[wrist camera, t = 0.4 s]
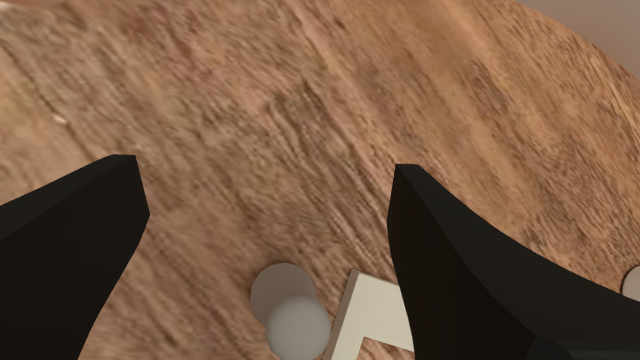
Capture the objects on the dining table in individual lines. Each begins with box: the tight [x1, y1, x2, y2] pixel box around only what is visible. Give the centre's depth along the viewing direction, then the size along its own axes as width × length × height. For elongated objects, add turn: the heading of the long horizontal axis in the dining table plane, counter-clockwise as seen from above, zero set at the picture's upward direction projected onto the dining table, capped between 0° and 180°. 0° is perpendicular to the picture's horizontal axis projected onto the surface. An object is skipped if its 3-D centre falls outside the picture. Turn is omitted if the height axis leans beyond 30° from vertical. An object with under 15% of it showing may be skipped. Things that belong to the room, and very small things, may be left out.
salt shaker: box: [250, 263, 331, 360], centre depth 31 cm, size 6×6×13 cm
